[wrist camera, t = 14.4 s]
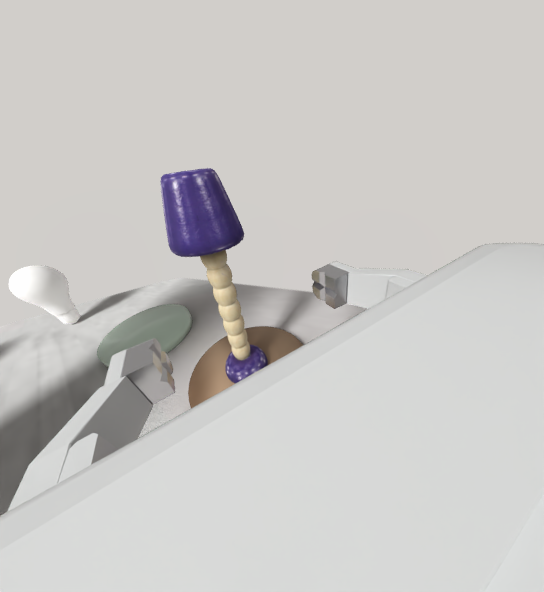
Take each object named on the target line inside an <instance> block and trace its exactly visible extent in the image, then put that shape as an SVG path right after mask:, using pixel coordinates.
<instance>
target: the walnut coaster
mask: <svg viewBox="0 0 544 592" xmlns="http://www.w3.org/2000/svg"><path fill="white" fill-rule="evenodd" d="M245 330H246V332H247V341H248V342H249V344H250V345H255V346H257V347H259V348H260V349H261V350H262V351H263V352H264V353H265V355H266V357H267V360H268V365H269V364H271V363H273V362H275V361H277V360H278V359H280V358H282V357H284V356H285V355H287V354H289V353H291V352H293V351H294V350H296V349H298V348H300V347H301V346H303V344H302V343H301V342H300V341H299V340H298V339H297V338H296V337H295V336H293V335H292V334H290V333H288V332H286V331H284V330H281V329H278V328H274V327H251V328H246V329H245ZM231 352H232V345H231V344H230V343H229V340H228V336H226V337H224V338H222V339H221V340H219V341H218V342H217V343H215V344H214V345H213V346H212V347H211V348H209V349H208V351H207V352H206V353H205V354H204V355H203V356H202V357H201V359H200V360H199V362H198V363H197V365H196V367H195V369H194V371H193V373H192V376H191V379H190V383H189V392H188V394H189V402H190V406H191V408H193V407H195V406H197V405H198V404H200V403H202V402H204V401H205V400H207V399H209V398H211V397H213V396H214V395H216V394H218V393H220V392H221V391H223V390H225V389H227V388H229V387H230V386H232V385H234V384H235V383H233V382H232V381H231V380H230V379H229V378H228V377H227V374H226V370H225V365H226V360H227V358H228V356H229V354H230V353H231Z"/></svg>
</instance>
